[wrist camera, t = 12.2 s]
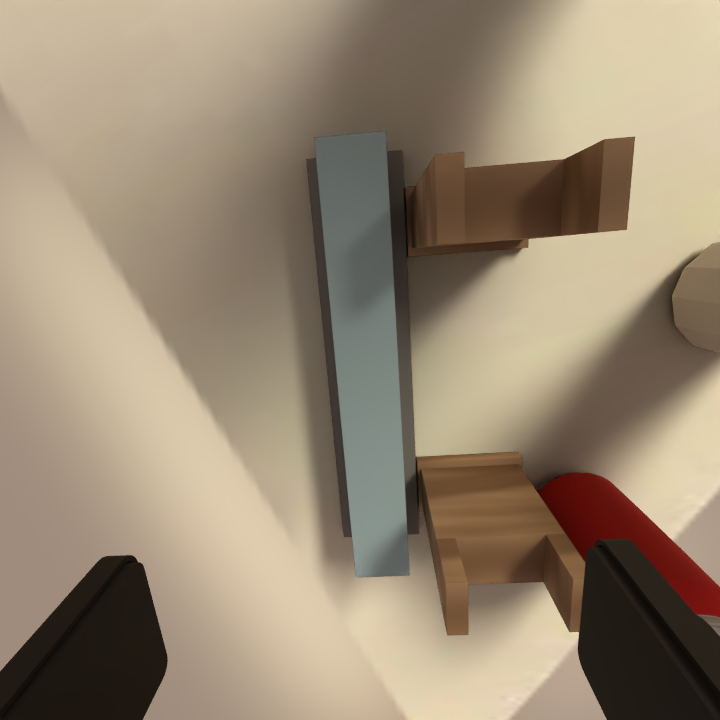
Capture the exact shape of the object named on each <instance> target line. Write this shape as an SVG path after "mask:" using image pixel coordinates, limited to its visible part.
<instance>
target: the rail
mask: <svg viewBox="0 0 720 720" xmlns="http://www.w3.org/2000/svg"><path fill="white" fill-rule="evenodd" d="M314 141H315V151H316V162H317V172H318V183H319V193H320V204H321V215H322V225H323V236H324V246H325V257H326V267H327V278H328V288H329V299H330V310H331V320H332V331H333V341H334V352H335V362H336V373H337V383H338V394H339V405H340V415H341V426H342V436H343V447H344V457H345V468H346V478H347V489H348V500H349V510H350V521H351V531H352V542H353V552H354V563H355V573H356V577H381V576H409V575H410V572H409V554H408V535H407V517H406V498H405V480H404V461H403V443H402V424H401V406H400V387H399V369H398V350H397V332H396V313H395V295H394V276H393V258H392V239H391V221H390V202H389V184H388V165H387V147H386V131H379V132H369V133H358V134H348V135H337V136H327V137H316V138H314Z"/></svg>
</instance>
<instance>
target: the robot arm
mask: <svg viewBox="0 0 720 720" xmlns="http://www.w3.org/2000/svg"><path fill="white" fill-rule="evenodd" d="M578 654H579V660H580V663H581V666H582V669H583V671H584V673H585V676H586V677H587V680H588V682H589V683H590V686H591V688H592V690H593V692H594V694H595V696H596V698H597V700H598V702H599V704H600V706H601V708H602V710H603V713H604V715H605V717H606V718H607V720H720V636H719V635H718V634H717V633H716V631H715V630H714V629H713V628H712V627H711V626H710V625H709V624H708V623H707V622H706V621H705V620H704V619H703V618H701V617H700V616H698V615H696V614H695V613H694V612H693V611H692V609H691V608H690V607H689V606H688V605H687V604H686V602H685V601H684V600H683V599H682V598H681V597H680V596H679V594H678V593H677V592H676V591H675V590H674V589H673V587H672V586H671V585H670V584H669V583H668V582H667V581H666V579H665V578H664V577H663V576H662V575H661V574H660V572H659V571H658V570H657V569H656V568H655V567H654V566H653V564H652V563H651V562H650V561H649V560H648V559H647V558H646V556H645V555H644V554H643V553H642V552H641V551H640V549H639V548H638V547H637V546H636V545H635V544H634V543H633V542H632V541H631V540H629V539H599V540H596V542H595V544H594V548H588V549H587V552H586V562H585V573H584V585H583V596H582V607H581V618H580V630H579V641H578ZM166 668H167V653H166V649H165V645H164V642H163V638H162V634H161V630H160V627H159V623H158V619H157V616H156V611H155V608H154V604H153V600H152V596H151V592H150V588H149V585H148V581H147V577H146V573H145V570H144V566H143V564H141V563H138V561H137V559H136V558H135V557H134V556H131V555H126V556H106V557H103V558H101V560H99V561H98V562H97V563H96V564H95V565H94V567H93V568H92V569H91V570H90V571H89V572H88V573H87V574H86V576H85V577H84V578H83V579H82V580H81V581H80V582H79V583H78V584H77V586H76V587H75V588H74V589H73V590H72V591H71V592H70V593H69V595H68V596H67V597H66V598H65V599H64V600H63V601H62V602H61V604H60V605H59V606H58V607H57V608H56V609H55V610H54V611H53V613H52V614H51V615H50V616H49V617H48V618H47V619H46V621H45V622H44V623H43V624H42V625H41V626H40V627H39V628H38V630H37V631H36V632H35V633H34V634H33V635H32V636H31V637H30V639H29V640H28V641H27V642H26V643H25V644H24V645H23V646H22V648H21V649H20V650H19V651H18V652H17V653H16V654H15V655H14V657H13V658H12V659H11V660H10V661H9V662H8V663H7V664H6V666H5V667H4V668H3V669H2V670H1V671H0V720H143V718H144V716H145V714H146V712H147V710H148V708H149V706H150V704H151V702H152V699H153V697H154V696H155V694H156V691H157V689H158V687H159V686H160V684H161V681H162V679H163V677H164V675H165V671H166Z"/></svg>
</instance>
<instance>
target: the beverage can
mask: <svg viewBox="0 0 720 720" xmlns="http://www.w3.org/2000/svg"><path fill="white" fill-rule="evenodd" d="M538 494H539V495H540V497H541V498H542V500H543V501H544V503H545V504H546V506H547V507H548V509H549V510H550V512H551V513H552V515H553V516H554V517H555V519H556V520H557V522H558V523H559V525H560V526H561V528H562V529H563V531H564V532H565V534H566V535H567V537H568V538H569V540H570V541H571V542H572V544H573V545H574V547H575V548H576V550H577V551H578V553H579V554H580V556H581V557H582V559H583V560H584V562H586V552H587V549H588V548H594V544H595V542H596V540H599V539H629V540H631V541H632V542H633V543H634V544H635V545H636V546H637V547H638V548H639V549H640V551H641V552H642V553H643V554H644V555H645V556H646V558H647V559H648V560H649V561H650V562H651V563H652V564H653V566H654V567H655V568H656V569H657V570H658V571H659V572H660V574H661V575H662V576H663V577H664V578H665V579H666V581H667V582H668V583H669V584H670V585H671V586H672V587H673V589H674V590H675V591H676V592H677V593H678V594H679V596H680V597H681V598H682V599H683V600H684V601H685V602H686V604H687V605H688V606H689V607H690V608H691V609H692V611H693V612H694V613H695V614H696V615H698V616H700V617H701V618H703V619H704V620H705V621H706V622H707V623H708V624H709V625H710V626H711V627H712V628H713V629H714V630H715V631H716V633H717V634H718V635H719V636H720V587H719V586H718V585H717V584H716V583H715V582H714V581H713V580H712V579H711V578H710V577H709V576H708V575H707V574H706V573H705V572H704V571H703V570H702V569H701V568H700V567H699V566H698V565H697V564H696V563H695V562H694V561H693V560H692V559H691V558H690V557H689V556H688V555H687V554H686V553H685V552H684V551H683V550H682V549H681V548H680V547H678V546H677V545H676V544H675V543H674V542H673V541H672V540H671V539H670V538H669V537H668V536H667V535H666V534H665V533H664V532H663V531H662V530H661V529H660V528H659V527H658V526H657V525H656V524H655V523H654V522H653V521H651V520H650V519H649V518H648V517H647V516H646V515H645V514H644V513H643V512H642V511H641V510H640V509H639V508H638V507H637V506H636V505H635V504H634V503H633V502H632V501H630V500H629V499H628V498H627V497H626V496H625V495H624V494H623V493H622V492H621V491H620V490H619V489H618V488H617V487H616V486H614V485H613V484H612V483H611V482H610V481H608V480H607V479H605V478H603V477H601V476H598V475H595V474H590V473H571V474H567V475H563V476H560V477H558V478H556V479H554V480H552V481H550V482H549V483H547V484H546V485H545V486H544V487H542V488H541V489H540V490H539V492H538Z"/></svg>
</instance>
